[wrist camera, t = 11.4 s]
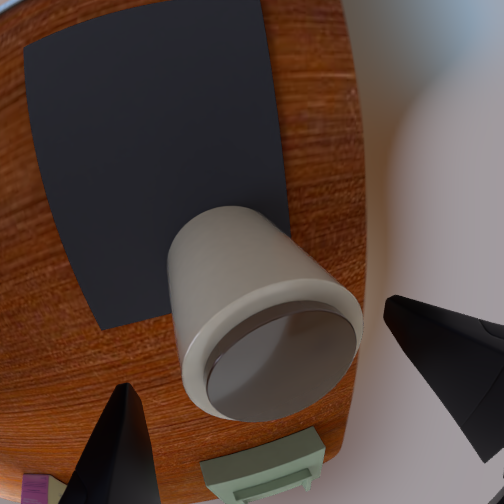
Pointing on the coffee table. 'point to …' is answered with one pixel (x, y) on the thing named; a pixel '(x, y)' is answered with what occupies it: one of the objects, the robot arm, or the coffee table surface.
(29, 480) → the box
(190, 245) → the jar
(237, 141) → the mat
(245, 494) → the stand
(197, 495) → the coffee table surface
